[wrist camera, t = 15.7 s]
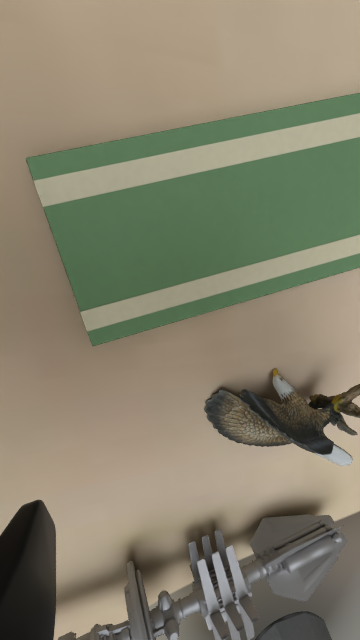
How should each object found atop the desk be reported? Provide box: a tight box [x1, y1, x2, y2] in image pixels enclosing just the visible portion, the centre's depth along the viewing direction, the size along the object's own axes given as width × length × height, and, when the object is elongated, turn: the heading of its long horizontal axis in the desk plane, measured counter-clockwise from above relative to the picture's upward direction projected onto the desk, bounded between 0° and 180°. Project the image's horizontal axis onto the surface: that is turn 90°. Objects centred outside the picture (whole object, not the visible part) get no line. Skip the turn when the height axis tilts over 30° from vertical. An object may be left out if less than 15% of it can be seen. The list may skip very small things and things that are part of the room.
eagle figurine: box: [204, 369, 360, 466], centre depth 20 cm, size 8×7×9 cm
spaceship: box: [58, 514, 347, 640], centre depth 21 cm, size 8×35×8 cm
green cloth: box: [26, 93, 360, 346], centre depth 18 cm, size 20×10×1 cm, turn 103°
